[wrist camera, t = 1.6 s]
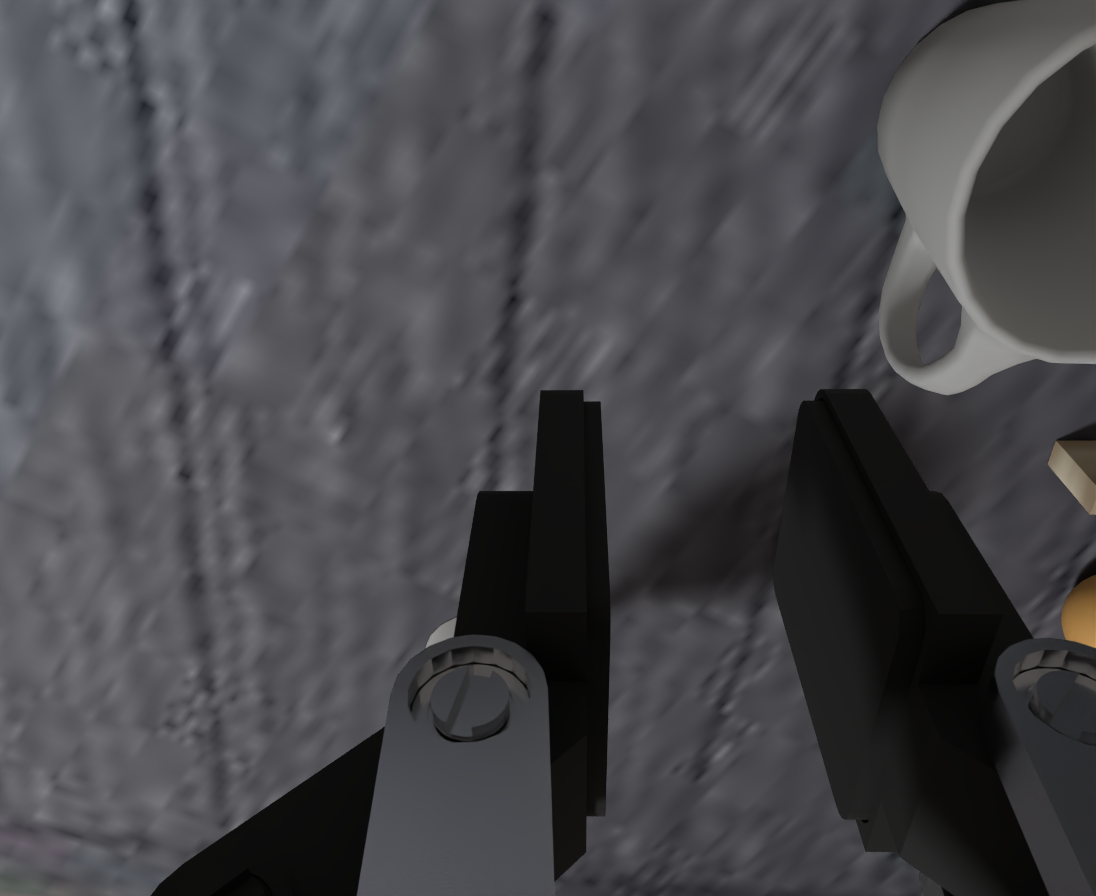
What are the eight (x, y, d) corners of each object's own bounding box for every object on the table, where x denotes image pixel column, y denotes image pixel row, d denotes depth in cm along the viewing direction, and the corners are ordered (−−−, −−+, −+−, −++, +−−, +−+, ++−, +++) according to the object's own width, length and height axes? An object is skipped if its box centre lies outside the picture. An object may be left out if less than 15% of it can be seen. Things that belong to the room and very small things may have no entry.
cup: (1181, 38, 23) (1452, 98, 16) (948, 341, 28) (1075, 491, 21) (951, -95, 22) (1136, -92, 15) (748, 251, 27) (812, 379, 20)
